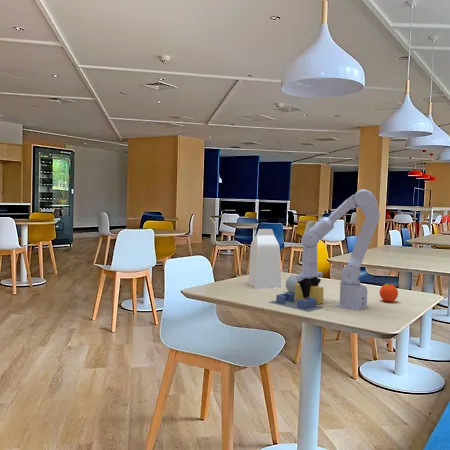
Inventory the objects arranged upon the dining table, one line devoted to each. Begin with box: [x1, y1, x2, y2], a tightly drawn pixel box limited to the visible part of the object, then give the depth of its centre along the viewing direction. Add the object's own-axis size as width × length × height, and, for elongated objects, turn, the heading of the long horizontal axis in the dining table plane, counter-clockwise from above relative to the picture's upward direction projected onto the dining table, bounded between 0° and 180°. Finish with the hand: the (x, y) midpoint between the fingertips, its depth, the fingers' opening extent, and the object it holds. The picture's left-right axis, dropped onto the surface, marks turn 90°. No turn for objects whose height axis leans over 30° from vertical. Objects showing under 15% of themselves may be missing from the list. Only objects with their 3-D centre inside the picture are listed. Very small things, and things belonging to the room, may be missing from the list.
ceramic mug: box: [285, 274, 298, 294], centre depth 192 cm, size 11×8×8 cm
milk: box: [247, 228, 282, 290], centre depth 208 cm, size 12×12×26 cm
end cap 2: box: [296, 297, 317, 310], centre depth 168 cm, size 4×6×3 cm, turn 134°
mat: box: [268, 300, 325, 313], centre depth 172 cm, size 19×10×1 cm, turn 44°
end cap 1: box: [275, 292, 296, 304], centre depth 175 cm, size 4×6×3 cm, turn 134°
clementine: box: [379, 283, 399, 303], centre depth 182 cm, size 8×7×7 cm
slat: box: [295, 283, 324, 305], centre depth 177 cm, size 11×3×6 cm, turn 44°
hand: (308, 297), depth 177 cm, fingers closed on slat, 3 cm apart
